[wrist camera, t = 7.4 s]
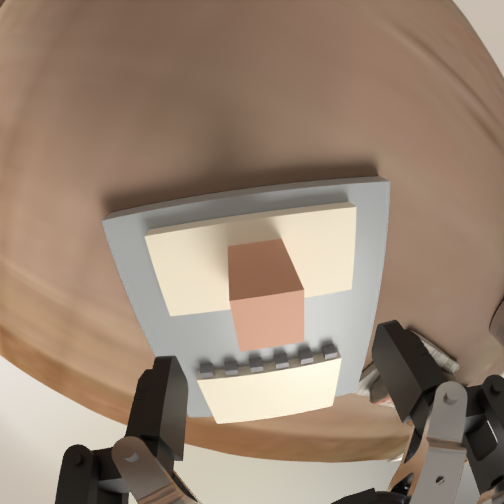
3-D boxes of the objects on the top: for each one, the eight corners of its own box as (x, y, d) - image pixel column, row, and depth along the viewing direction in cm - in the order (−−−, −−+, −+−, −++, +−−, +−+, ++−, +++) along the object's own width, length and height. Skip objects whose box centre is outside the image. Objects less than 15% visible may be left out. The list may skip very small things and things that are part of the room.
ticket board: (378, 176, 17) (398, 185, 14) (351, 381, 27) (358, 398, 24) (110, 212, 16) (94, 226, 14) (190, 406, 26) (189, 424, 24)
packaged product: (471, 380, 26) (421, 423, 29) (456, 359, 30) (409, 401, 33) (430, 356, 20) (355, 417, 23) (407, 324, 24) (342, 383, 28)
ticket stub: (349, 201, 16) (403, 244, 10) (346, 281, 18) (384, 340, 13) (148, 229, 15) (114, 286, 10) (172, 307, 18) (158, 375, 13)
